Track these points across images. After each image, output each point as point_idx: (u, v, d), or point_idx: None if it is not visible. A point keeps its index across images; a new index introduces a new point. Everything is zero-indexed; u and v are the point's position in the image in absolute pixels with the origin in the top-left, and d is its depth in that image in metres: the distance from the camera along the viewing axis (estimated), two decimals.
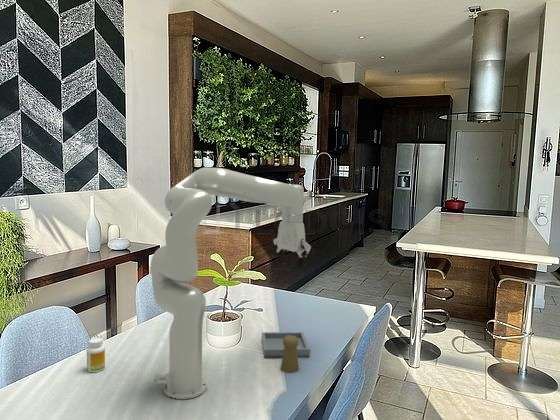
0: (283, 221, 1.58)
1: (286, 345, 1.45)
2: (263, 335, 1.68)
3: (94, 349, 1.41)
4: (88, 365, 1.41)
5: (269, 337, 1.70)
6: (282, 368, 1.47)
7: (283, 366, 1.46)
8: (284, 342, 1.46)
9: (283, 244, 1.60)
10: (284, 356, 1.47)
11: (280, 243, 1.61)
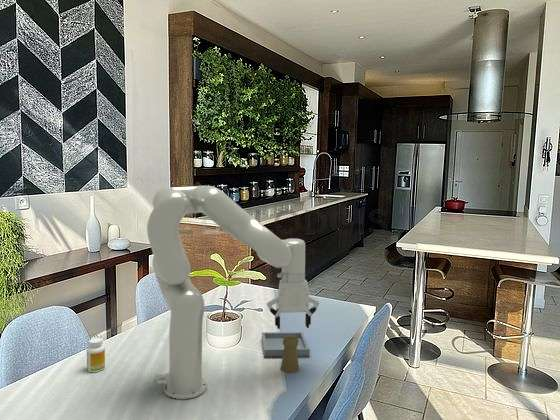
0: (291, 282, 1.42)
1: (286, 345, 1.45)
2: (263, 335, 1.68)
3: (94, 349, 1.41)
4: (88, 365, 1.41)
5: (269, 337, 1.70)
6: (282, 368, 1.47)
7: (283, 366, 1.46)
8: (284, 342, 1.46)
9: (290, 307, 1.43)
10: (284, 356, 1.47)
11: (285, 306, 1.43)
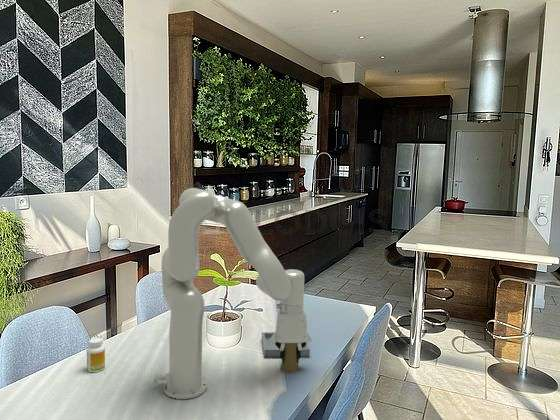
0: (290, 313, 1.43)
1: (286, 345, 1.45)
2: (263, 335, 1.68)
3: (94, 349, 1.41)
4: (88, 365, 1.41)
5: (269, 337, 1.70)
6: (282, 368, 1.47)
7: (283, 366, 1.46)
8: None
9: (287, 338, 1.44)
10: None
11: (283, 337, 1.44)
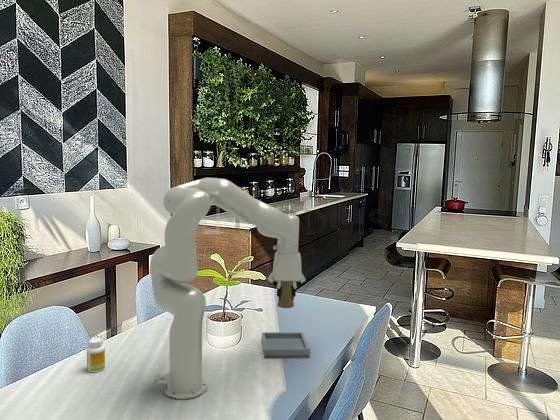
0: (285, 253, 1.56)
1: (282, 283, 1.59)
2: (263, 335, 1.68)
3: (94, 349, 1.41)
4: (88, 365, 1.41)
5: (269, 337, 1.70)
6: (278, 304, 1.61)
7: (279, 303, 1.60)
8: None
9: (283, 276, 1.58)
10: None
11: (279, 275, 1.58)
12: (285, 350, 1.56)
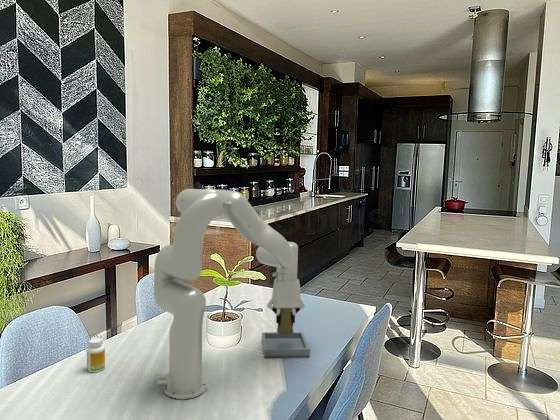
0: (285, 280, 1.58)
1: (281, 310, 1.61)
2: (263, 335, 1.68)
3: (94, 349, 1.41)
4: (88, 365, 1.41)
5: (269, 337, 1.70)
6: (278, 331, 1.62)
7: (279, 329, 1.62)
8: None
9: (283, 303, 1.59)
10: None
11: (279, 302, 1.59)
12: (285, 350, 1.56)
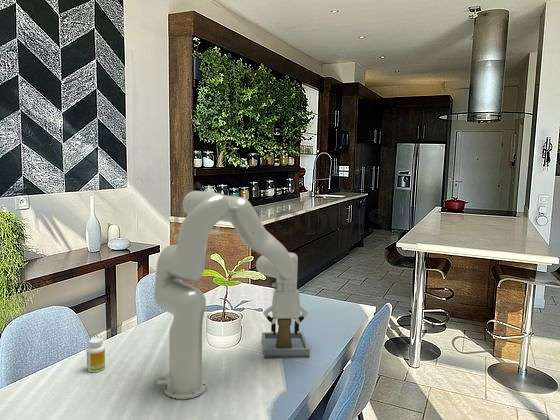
0: (284, 291, 1.58)
1: (280, 324, 1.61)
2: (263, 335, 1.68)
3: (94, 349, 1.41)
4: (88, 365, 1.41)
5: (269, 337, 1.70)
6: (276, 345, 1.62)
7: (277, 344, 1.62)
8: (278, 322, 1.61)
9: (282, 313, 1.60)
10: (278, 335, 1.62)
11: (278, 313, 1.60)
12: (285, 350, 1.56)
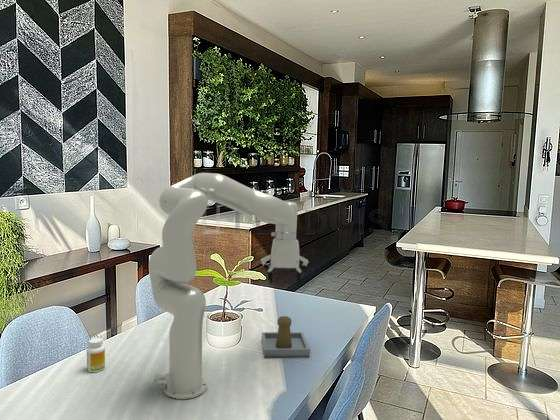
0: (283, 239, 1.56)
1: (280, 324, 1.61)
2: (263, 335, 1.68)
3: (94, 349, 1.41)
4: (88, 365, 1.41)
5: (269, 337, 1.70)
6: (277, 345, 1.62)
7: (277, 344, 1.62)
8: (278, 322, 1.61)
9: (281, 262, 1.58)
10: (278, 335, 1.62)
11: (277, 262, 1.58)
12: (285, 350, 1.56)
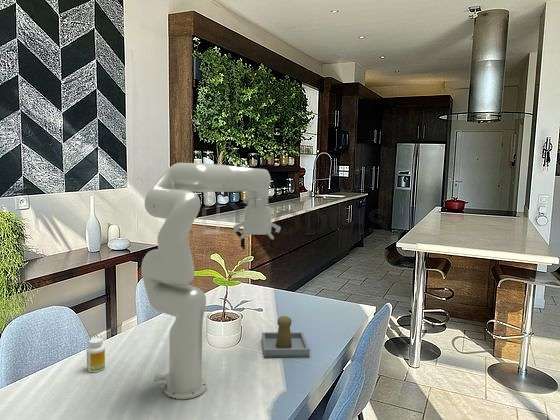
0: (255, 206, 1.58)
1: (280, 324, 1.61)
2: (263, 335, 1.68)
3: (94, 349, 1.41)
4: (88, 365, 1.41)
5: (269, 337, 1.70)
6: (277, 345, 1.62)
7: (277, 344, 1.62)
8: (278, 322, 1.61)
9: (253, 229, 1.59)
10: (278, 335, 1.62)
11: (249, 228, 1.59)
12: (285, 350, 1.56)
